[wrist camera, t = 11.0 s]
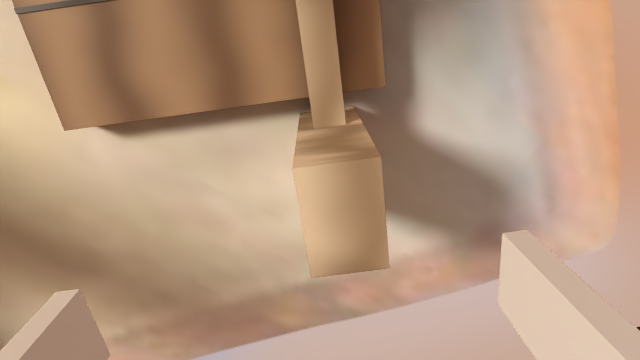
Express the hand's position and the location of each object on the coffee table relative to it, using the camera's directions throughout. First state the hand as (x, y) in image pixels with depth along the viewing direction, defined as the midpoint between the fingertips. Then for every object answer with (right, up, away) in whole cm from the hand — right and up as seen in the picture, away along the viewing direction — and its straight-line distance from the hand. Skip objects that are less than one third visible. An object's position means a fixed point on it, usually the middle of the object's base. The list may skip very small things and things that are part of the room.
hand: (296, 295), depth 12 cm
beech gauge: (+1, +11, +15) cm, 19 cm away
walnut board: (-6, +14, +14) cm, 20 cm away
